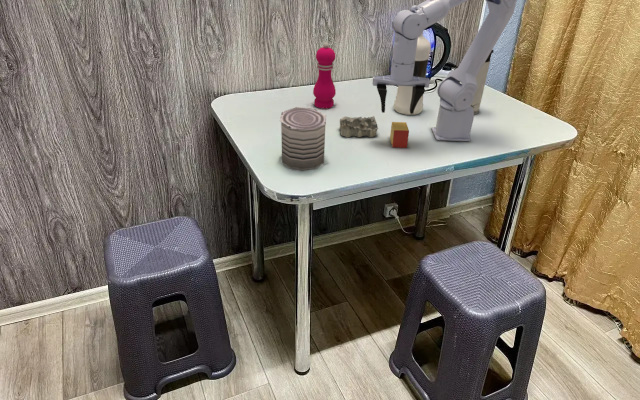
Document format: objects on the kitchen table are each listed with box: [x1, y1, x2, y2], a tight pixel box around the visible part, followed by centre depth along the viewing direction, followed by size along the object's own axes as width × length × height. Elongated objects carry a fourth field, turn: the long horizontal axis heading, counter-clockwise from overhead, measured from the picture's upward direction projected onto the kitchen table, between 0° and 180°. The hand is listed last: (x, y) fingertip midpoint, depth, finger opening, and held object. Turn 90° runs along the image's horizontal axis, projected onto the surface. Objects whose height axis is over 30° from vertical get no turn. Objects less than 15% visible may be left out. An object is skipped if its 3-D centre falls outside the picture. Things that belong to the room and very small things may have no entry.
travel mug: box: [470, 49, 494, 115], centre depth 147 cm, size 6×7×20 cm
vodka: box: [393, 32, 432, 116], centre depth 143 cm, size 9×9×30 cm
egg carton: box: [339, 115, 379, 138], centre depth 135 cm, size 11×8×4 cm
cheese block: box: [389, 121, 410, 149], centre depth 130 cm, size 4×6×5 cm
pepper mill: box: [312, 41, 337, 109], centre depth 148 cm, size 7×7×20 cm
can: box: [279, 106, 327, 171], centre depth 118 cm, size 11×11×12 cm
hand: (397, 111), depth 127 cm, fingers open, 7 cm apart
